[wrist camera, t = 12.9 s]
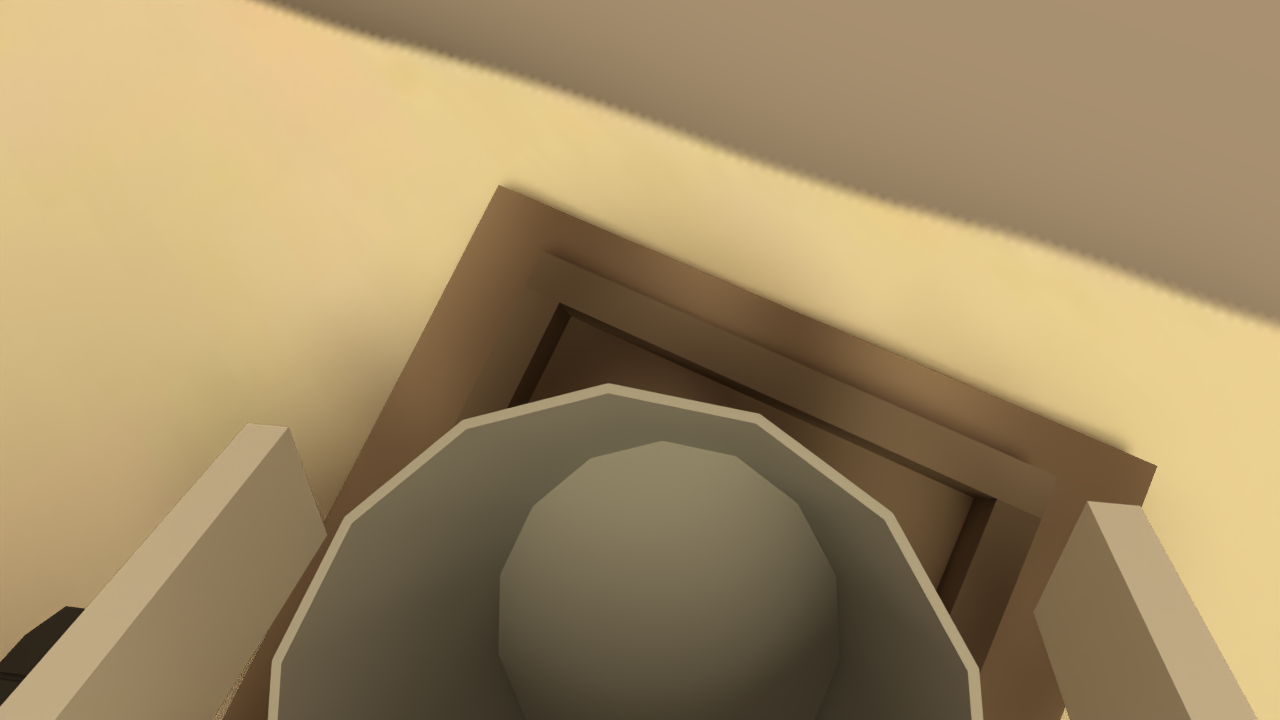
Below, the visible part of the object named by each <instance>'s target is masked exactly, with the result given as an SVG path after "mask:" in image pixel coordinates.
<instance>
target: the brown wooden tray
mask: <svg viewBox="0 0 1280 720" xmlns="http://www.w3.org/2000/svg"><path fill="white" fill-rule="evenodd" d="M607 383H610V384H615V385H620V386H625V387H630V388H635V389H640V390H645V391H649V392H654V393H659V394H664V395H669V396H674V397H679V398H684V399H689V400H694V401H699V402H704V403H709V404H713V405H718V406H723V407H728V408H733V409H738V410H743V411H748V412H753V413H758V414H761V415H762V416H763V417H765V418H766V419H767V420H769V421H770V422H771V423H773V424H774V425H775V426H777V427H778V428H779V429H781V430H782V431H784V432H785V433H786V434H788V435H789V436H790V437H792V438H793V439H794V440H796V441H797V442H798V443H800V444H801V445H802V446H804V447H805V448H806V449H808V450H809V451H810V452H812V453H813V454H814V455H816V456H817V457H818V458H820V459H821V460H822V461H824V462H825V463H827V464H828V465H829V466H831V467H832V468H833V469H835V470H836V471H837V472H839V473H840V474H841V475H843V476H844V477H845V478H847V479H848V480H849V481H851V482H852V483H853V484H855V485H856V486H857V487H859V488H860V489H861V490H863V491H864V492H865V493H867V494H868V495H869V496H871V497H872V498H874V499H875V500H876V501H878V502H879V503H880V504H882V505H883V506H884V507H886V508H887V509H888V510H890V511H891V512H892V513H893V514H894V516H895V518H896V520H897V521H898V523H899V525H900V527H901V529H902V530H903V532H904V534H905V536H906V538H907V540H908V541H909V543H910V545H911V547H912V549H913V550H914V552H915V554H916V556H917V558H918V559H919V561H920V563H921V565H922V567H923V568H924V570H925V572H926V574H927V576H928V577H929V579H930V581H931V583H932V585H933V586H934V588H935V590H936V592H937V594H938V595H939V597H940V599H941V601H942V603H943V605H944V606H945V608H946V610H947V612H948V614H949V615H950V617H951V619H952V621H953V623H954V624H955V626H956V628H957V630H958V632H959V633H960V635H961V637H962V639H963V641H964V642H965V644H966V646H967V648H968V650H969V651H970V653H971V655H972V657H973V659H974V660H975V662H976V664H977V666H978V668H979V674H980V686H981V698H982V710H983V720H1060V719H1061V716H1062V714H1063V711H1064V708H1065V704H1064V701H1063V698H1062V695H1061V692H1060V689H1059V686H1058V683H1057V680H1056V677H1055V674H1054V671H1053V668H1052V665H1051V662H1050V659H1049V656H1048V653H1047V651H1046V648H1045V645H1044V642H1043V639H1042V636H1041V633H1040V630H1039V627H1038V624H1037V621H1036V618H1035V615H1034V610H1035V608H1036V606H1037V604H1038V602H1039V600H1040V598H1041V596H1042V594H1043V591H1044V589H1045V587H1046V585H1047V583H1048V581H1049V579H1050V577H1051V575H1052V573H1053V571H1054V569H1055V567H1056V565H1057V563H1058V560H1059V558H1060V556H1061V554H1062V552H1063V550H1064V548H1065V546H1066V544H1067V542H1068V540H1069V538H1070V536H1071V534H1072V532H1073V529H1074V527H1075V525H1076V523H1077V521H1078V519H1079V517H1080V515H1081V513H1082V511H1083V509H1084V507H1085V505H1086V503H1087V501H1092V502H1103V503H1114V504H1125V505H1136V506H1141V507H1142V505H1143V502H1144V499H1145V497H1146V494H1147V492H1148V489H1149V486H1150V484H1151V481H1152V478H1153V476H1154V473H1155V471H1156V468H1157V466H1156V465H1154V464H1151V463H1149V462H1146V461H1144V460H1142V459H1139V458H1137V457H1135V456H1132V455H1130V454H1128V453H1125V452H1123V451H1121V450H1118V449H1116V448H1114V447H1111V446H1109V445H1107V444H1104V443H1102V442H1100V441H1097V440H1095V439H1093V438H1090V437H1088V436H1086V435H1083V434H1081V433H1079V432H1076V431H1074V430H1071V429H1069V428H1067V427H1064V426H1062V425H1060V424H1057V423H1055V422H1053V421H1050V420H1048V419H1046V418H1043V417H1041V416H1039V415H1036V414H1034V413H1032V412H1029V411H1027V410H1025V409H1022V408H1020V407H1018V406H1015V405H1013V404H1011V403H1008V402H1006V401H1004V400H1001V399H999V398H997V397H994V396H992V395H989V394H987V393H985V392H982V391H980V390H978V389H975V388H973V387H971V386H968V385H966V384H964V383H961V382H959V381H957V380H954V379H952V378H950V377H947V376H945V375H943V374H940V373H938V372H936V371H933V370H931V369H929V368H926V367H924V366H922V365H919V364H917V363H915V362H912V361H910V360H907V359H905V358H903V357H900V356H898V355H896V354H893V353H891V352H889V351H886V350H884V349H882V348H879V347H877V346H875V345H872V344H870V343H868V342H865V341H863V340H861V339H858V338H856V337H854V336H851V335H849V334H847V333H844V332H842V331H840V330H837V329H835V328H833V327H830V326H828V325H825V324H823V323H821V322H818V321H816V320H814V319H811V318H809V317H807V316H804V315H802V314H800V313H797V312H795V311H793V310H790V309H788V308H786V307H783V306H781V305H779V304H776V303H774V302H772V301H769V300H767V299H765V298H762V297H760V296H758V295H755V294H753V293H751V292H748V291H746V290H743V289H741V288H739V287H736V286H734V285H732V284H729V283H727V282H725V281H722V280H720V279H718V278H715V277H713V276H711V275H708V274H706V273H704V272H701V271H699V270H697V269H694V268H692V267H690V266H687V265H685V264H683V263H680V262H678V261H676V260H673V259H671V258H668V257H666V256H664V255H661V254H659V253H657V252H654V251H652V250H650V249H647V248H645V247H643V246H640V245H638V244H636V243H633V242H631V241H629V240H626V239H624V238H622V237H619V236H617V235H615V234H612V233H610V232H608V231H605V230H603V229H601V228H598V227H596V226H594V225H591V224H589V223H586V222H584V221H582V220H579V219H577V218H575V217H572V216H570V215H568V214H565V213H563V212H561V211H558V210H556V209H554V208H551V207H549V206H547V205H544V204H542V203H540V202H537V201H535V200H533V199H530V198H528V197H526V196H523V195H521V194H519V193H516V192H514V191H512V190H509V189H507V188H504V187H502V186H500V185H499V186H498V188H497V189H496V191H495V193H494V195H493V197H492V199H491V201H490V203H489V205H488V207H487V209H486V211H485V213H484V215H483V217H482V219H481V220H480V222H479V224H478V226H477V228H476V230H475V232H474V234H473V236H472V238H471V240H470V242H469V244H468V246H467V248H466V250H465V251H464V253H463V255H462V257H461V259H460V261H459V263H458V265H457V267H456V269H455V271H454V273H453V275H452V277H451V279H450V280H449V282H448V284H447V286H446V288H445V290H444V292H443V294H442V296H441V298H440V300H439V302H438V304H437V306H436V308H435V310H434V311H433V313H432V315H431V317H430V319H429V321H428V323H427V325H426V327H425V329H424V331H423V333H422V335H421V337H420V339H419V341H418V342H417V344H416V346H415V348H414V350H413V352H412V354H411V356H410V358H409V360H408V362H407V364H406V366H405V368H404V370H403V372H402V373H401V375H400V377H399V379H398V381H397V383H396V385H395V387H394V389H393V391H392V393H391V395H390V397H389V399H388V401H387V402H386V404H385V406H384V408H383V410H382V412H381V414H380V416H379V418H378V420H377V422H376V424H375V426H374V428H373V430H372V432H371V433H370V435H369V437H368V439H367V441H366V443H365V445H364V447H363V449H362V451H361V453H360V455H359V457H358V459H357V461H356V463H355V464H354V466H353V468H352V470H351V472H350V474H349V476H348V478H347V480H346V482H345V484H344V486H343V488H342V490H341V492H340V493H339V495H338V497H337V499H336V501H335V503H334V505H333V507H332V509H331V511H330V513H329V515H328V517H327V519H326V521H325V523H324V527H325V530H326V533H327V536H326V538H325V539H324V541H323V543H322V544H321V546H320V547H319V549H318V551H317V552H316V554H315V555H314V557H313V559H312V560H311V562H310V564H309V565H308V567H307V568H306V570H305V572H304V573H303V575H302V576H301V578H300V580H299V581H298V583H297V584H296V586H295V588H294V589H293V591H292V592H291V594H290V596H289V597H288V599H287V601H286V602H285V604H284V605H283V607H282V609H281V610H280V612H279V613H278V615H277V617H276V618H275V620H274V621H273V623H272V625H271V627H270V629H269V631H268V633H267V635H266V637H265V639H264V641H263V643H262V645H261V646H260V648H259V650H258V652H257V654H256V656H255V658H254V660H253V662H252V664H251V666H250V668H249V670H248V672H247V674H246V676H245V677H244V679H243V681H242V683H241V685H240V687H239V689H238V691H237V693H236V695H235V697H234V699H233V701H232V703H231V705H230V706H229V708H228V710H227V712H226V714H225V716H224V718H223V720H268V710H269V696H270V681H271V667H272V659H273V657H274V655H275V653H276V651H277V649H278V647H279V645H280V643H281V641H282V639H283V637H284V635H285V634H286V632H287V630H288V628H289V626H290V624H291V622H292V620H293V618H294V616H295V614H296V612H297V610H298V608H299V606H300V604H301V602H302V600H303V598H304V596H305V594H306V592H307V590H308V588H309V586H310V584H311V582H312V580H313V578H314V576H315V574H316V572H317V570H318V568H319V566H320V564H321V562H322V560H323V558H324V556H325V554H326V552H327V550H328V548H329V546H330V544H331V542H332V540H333V538H334V536H335V534H336V532H337V530H338V528H339V527H340V525H341V523H342V521H343V519H344V517H345V516H346V515H347V514H349V513H350V512H351V511H352V510H353V509H355V508H356V507H357V506H358V505H360V504H361V503H362V502H363V501H364V500H366V499H367V498H368V497H369V496H371V495H372V494H373V493H374V492H375V491H377V490H378V489H379V488H380V487H381V486H383V485H384V484H385V483H386V482H388V481H389V480H390V479H391V478H392V477H394V476H395V475H396V474H397V473H399V472H400V471H401V470H402V469H403V468H405V467H406V466H407V465H408V464H410V463H411V462H412V461H413V460H414V459H416V458H417V457H418V456H419V455H420V454H422V453H423V452H424V451H425V450H427V449H428V448H429V447H430V446H431V445H433V444H434V443H435V442H436V441H438V440H439V439H440V438H441V437H442V436H444V435H445V434H446V433H447V432H449V431H450V430H451V429H452V428H453V427H455V426H456V425H457V424H458V423H460V422H461V421H462V420H465V419H469V418H472V417H476V416H480V415H484V414H488V413H492V412H496V411H500V410H504V409H508V408H512V407H516V406H520V405H524V404H528V403H532V402H536V401H540V400H544V399H548V398H551V397H555V396H559V395H563V394H567V393H571V392H575V391H579V390H583V389H587V388H591V387H595V386H599V385H603V384H607Z"/></svg>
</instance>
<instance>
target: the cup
mask: <svg viewBox="0 0 1280 720" xmlns="http://www.w3.org/2000/svg"><path fill="white" fill-rule="evenodd" d="M268 720H983V710H982V698H981V686H980V674H979V668H978V666H977V664H976V662H975V660H974V659H973V657H972V655H971V653H970V651H969V650H968V648H967V646H966V644H965V642H964V641H963V639H962V637H961V635H960V633H959V632H958V630H957V628H956V626H955V624H954V623H953V621H952V619H951V617H950V615H949V614H948V612H947V610H946V608H945V606H944V605H943V603H942V601H941V599H940V597H939V595H938V594H937V592H936V590H935V588H934V586H933V585H932V583H931V581H930V579H929V577H928V576H927V574H926V572H925V570H924V568H923V567H922V565H921V563H920V561H919V559H918V558H917V556H916V554H915V552H914V550H913V549H912V547H911V545H910V543H909V541H908V540H907V538H906V536H905V534H904V532H903V530H902V529H901V527H900V525H899V523H898V521H897V520H896V518H895V516H894V514H893V513H892V512H891V511H890V510H888V509H887V508H886V507H884V506H883V505H882V504H880V503H879V502H878V501H876V500H875V499H874V498H872V497H871V496H869V495H868V494H867V493H865V492H864V491H863V490H861V489H860V488H859V487H857V486H856V485H855V484H853V483H852V482H851V481H849V480H848V479H847V478H845V477H844V476H843V475H841V474H840V473H839V472H837V471H836V470H835V469H833V468H832V467H831V466H829V465H828V464H827V463H825V462H824V461H822V460H821V459H820V458H818V457H817V456H816V455H814V454H813V453H812V452H810V451H809V450H808V449H806V448H805V447H804V446H802V445H801V444H800V443H798V442H797V441H796V440H794V439H793V438H792V437H790V436H789V435H788V434H786V433H785V432H784V431H782V430H781V429H779V428H778V427H777V426H775V425H774V424H773V423H771V422H770V421H769V420H767V419H766V418H765V417H763V416H762V415H761V414H758V413H753V412H748V411H743V410H738V409H733V408H728V407H723V406H718V405H713V404H709V403H704V402H699V401H694V400H689V399H684V398H679V397H674V396H669V395H664V394H659V393H654V392H649V391H645V390H640V389H635V388H630V387H625V386H620V385H615V384H610V383H607V384H603V385H599V386H595V387H591V388H587V389H583V390H579V391H575V392H571V393H567V394H563V395H559V396H555V397H551V398H548V399H544V400H540V401H536V402H532V403H528V404H524V405H520V406H516V407H512V408H508V409H504V410H500V411H496V412H492V413H488V414H484V415H480V416H476V417H472V418H469V419H465V420H462V421H461V422H460V423H458V424H457V425H456V426H455V427H453V428H452V429H451V430H450V431H449V432H447V433H446V434H445V435H444V436H442V437H441V438H440V439H439V440H438V441H436V442H435V443H434V444H433V445H431V446H430V447H429V448H428V449H427V450H425V451H424V452H423V453H422V454H420V455H419V456H418V457H417V458H416V459H414V460H413V461H412V462H411V463H410V464H408V465H407V466H406V467H405V468H403V469H402V470H401V471H400V472H399V473H397V474H396V475H395V476H394V477H392V478H391V479H390V480H389V481H388V482H386V483H385V484H384V485H383V486H381V487H380V488H379V489H378V490H377V491H375V492H374V493H373V494H372V495H371V496H369V497H368V498H367V499H366V500H364V501H363V502H362V503H361V504H360V505H358V506H357V507H356V508H355V509H353V510H352V511H351V512H350V513H349V514H347V515H346V516H345V517H344V519H343V521H342V523H341V525H340V527H339V528H338V530H337V532H336V534H335V536H334V538H333V540H332V542H331V544H330V546H329V548H328V550H327V552H326V554H325V556H324V558H323V560H322V562H321V564H320V566H319V568H318V570H317V572H316V574H315V576H314V578H313V580H312V582H311V584H310V586H309V588H308V590H307V592H306V594H305V596H304V598H303V600H302V602H301V604H300V606H299V608H298V610H297V612H296V614H295V616H294V618H293V620H292V622H291V624H290V626H289V628H288V630H287V632H286V634H285V635H284V637H283V639H282V641H281V643H280V645H279V647H278V649H277V651H276V653H275V655H274V657H273V659H272V667H271V681H270V696H269V710H268Z"/></svg>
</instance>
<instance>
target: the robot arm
mask: <svg viewBox="0 0 1280 720" xmlns="http://www.w3.org/2000/svg"><path fill="white" fill-rule="evenodd" d="M326 536H327V533H326V530H325V527H324V524H323V521H322V519H321V516H320V513H319V510H318V508H317V505H316V502H315V499H314V496H313V494H312V491H311V488H310V485H309V482H308V480H307V477H306V474H305V471H304V468H303V466H302V463H301V460H300V457H299V455H298V452H297V449H296V446H295V443H294V441H293V438H292V435H291V432H290V429H289V427H284V426H273V425H262V424H251V423H247V424H246V426H245V427H244V428H243V429H242V430H241V431H240V432H239V434H238V435H237V436H236V437H235V438H234V439H233V440H232V442H231V443H230V444H229V445H228V446H227V447H226V448H225V450H224V451H223V452H222V453H221V454H220V455H219V457H218V458H217V459H216V460H215V461H214V462H213V463H212V465H211V466H210V467H209V468H208V469H207V470H206V471H205V473H204V474H203V475H202V476H201V477H200V478H199V479H198V481H197V482H196V483H195V484H194V485H193V486H192V487H191V489H190V490H189V491H188V492H187V493H186V494H185V495H184V497H183V498H182V499H181V500H180V501H179V502H178V503H177V505H176V506H175V507H174V508H173V509H172V510H171V512H170V513H169V514H168V515H167V516H166V517H165V518H164V520H163V521H162V522H161V523H160V524H159V525H158V526H157V528H156V529H155V530H154V531H153V532H152V533H151V534H150V536H149V537H148V538H147V539H146V540H145V541H144V542H143V544H142V545H141V546H140V547H139V548H138V549H137V550H136V552H135V553H134V554H133V555H132V556H131V557H130V559H129V560H128V561H127V562H126V563H125V564H124V565H123V567H122V568H121V569H120V570H119V571H118V572H117V573H116V575H115V576H114V577H113V578H112V579H111V580H110V581H109V583H108V584H107V585H106V586H105V587H104V588H103V589H102V591H101V592H100V593H99V594H98V595H97V596H96V597H95V599H94V600H93V601H92V602H91V603H90V604H89V605H88V607H87V608H86V609H84V608H76V607H68V606H66V607H64V608H63V609H61V610H60V611H59V612H57V613H56V614H54V615H53V616H52V617H50V618H49V619H47V620H46V621H44V622H43V623H42V624H40V625H39V626H37V627H36V628H35V629H33V630H32V631H30V632H29V633H28V634H26V635H25V636H24V637H23V638H22V639H21V640H20V641H19V642H18V644H17V645H16V646H15V647H14V648H13V649H12V650H11V651H10V652H9V653H8V654H7V655H6V657H5V658H4V659H3V660H2V661H1V662H0V720H213V718H214V716H215V715H216V713H217V711H218V710H219V708H220V707H221V705H222V703H223V702H224V700H225V699H226V697H227V695H228V694H229V692H230V691H231V689H232V687H233V686H234V684H235V683H236V681H237V679H238V678H239V676H240V674H241V673H242V671H243V670H244V668H245V666H246V665H247V663H248V662H249V660H250V658H251V657H252V655H253V654H254V652H255V650H256V649H257V647H258V646H259V644H260V642H261V641H262V639H263V638H264V636H265V634H266V633H267V631H268V629H269V628H270V626H271V625H272V623H273V621H274V620H275V618H276V617H277V615H278V613H279V612H280V610H281V609H282V607H283V605H284V604H285V602H286V601H287V599H288V597H289V596H290V594H291V592H292V591H293V589H294V588H295V586H296V584H297V583H298V581H299V580H300V578H301V576H302V575H303V573H304V572H305V570H306V568H307V567H308V565H309V564H310V562H311V560H312V559H313V557H314V555H315V554H316V552H317V551H318V549H319V547H320V546H321V544H322V543H323V541H324V539H325V538H326ZM1034 615H1035V618H1036V621H1037V624H1038V627H1039V630H1040V633H1041V636H1042V639H1043V642H1044V645H1045V648H1046V651H1047V653H1048V656H1049V659H1050V662H1051V665H1052V668H1053V671H1054V674H1055V677H1056V680H1057V683H1058V686H1059V689H1060V692H1061V695H1062V698H1063V701H1064V704H1065V706H1066V709H1067V712H1068V715H1069V718H1070V720H1258V719H1257V717H1256V715H1255V714H1254V712H1253V710H1252V708H1251V706H1250V704H1249V703H1248V701H1247V699H1246V697H1245V695H1244V694H1243V692H1242V690H1241V688H1240V686H1239V684H1238V683H1237V681H1236V679H1235V677H1234V675H1233V674H1232V672H1231V670H1230V668H1229V666H1228V664H1227V663H1226V661H1225V659H1224V657H1223V655H1222V654H1221V652H1220V650H1219V648H1218V646H1217V644H1216V643H1215V641H1214V639H1213V637H1212V635H1211V634H1210V632H1209V630H1208V628H1207V626H1206V624H1205V623H1204V621H1203V619H1202V617H1201V615H1200V614H1199V612H1198V610H1197V608H1196V606H1195V605H1194V603H1193V601H1192V599H1191V597H1190V595H1189V594H1188V592H1187V590H1186V588H1185V586H1184V585H1183V583H1182V581H1181V579H1180V577H1179V575H1178V574H1177V572H1176V570H1175V568H1174V566H1173V565H1172V563H1171V561H1170V559H1169V557H1168V555H1167V554H1166V552H1165V550H1164V548H1163V546H1162V545H1161V543H1160V541H1159V539H1158V537H1157V535H1156V534H1155V532H1154V530H1153V528H1152V526H1151V525H1150V523H1149V521H1148V519H1147V517H1146V515H1145V514H1144V512H1143V510H1142V508H1141V506H1136V505H1125V504H1114V503H1103V502H1092V501H1087V503H1086V505H1085V507H1084V509H1083V511H1082V513H1081V515H1080V517H1079V519H1078V521H1077V523H1076V525H1075V527H1074V529H1073V532H1072V534H1071V536H1070V538H1069V540H1068V542H1067V544H1066V546H1065V548H1064V550H1063V552H1062V554H1061V556H1060V558H1059V560H1058V563H1057V565H1056V567H1055V569H1054V571H1053V573H1052V575H1051V577H1050V579H1049V581H1048V583H1047V585H1046V587H1045V589H1044V591H1043V594H1042V596H1041V598H1040V600H1039V602H1038V604H1037V606H1036V608H1035V610H1034Z"/></svg>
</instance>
